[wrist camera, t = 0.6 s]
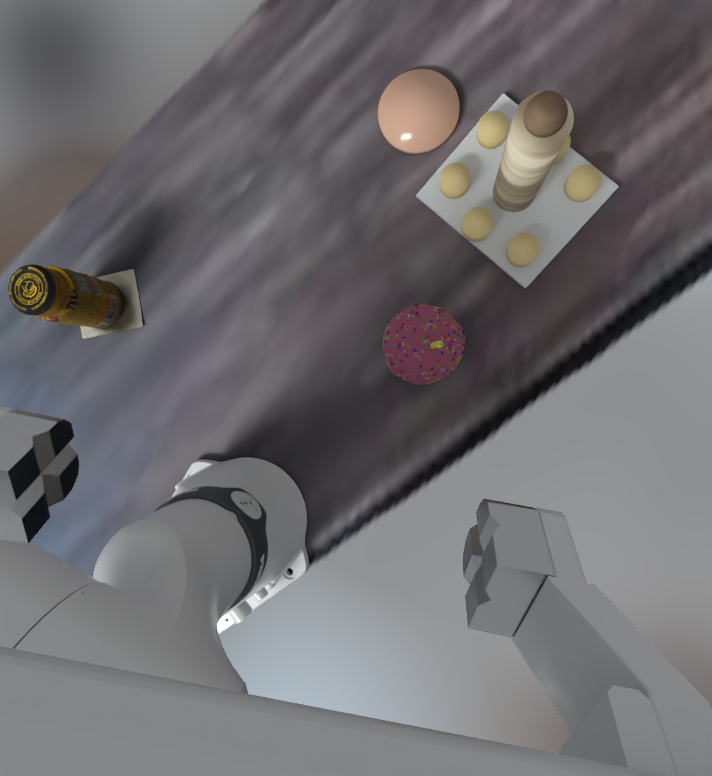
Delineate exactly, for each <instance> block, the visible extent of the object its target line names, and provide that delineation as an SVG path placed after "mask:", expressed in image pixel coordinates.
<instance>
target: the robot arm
mask: <svg viewBox="0 0 712 776" xmlns="http://www.w3.org/2000/svg"><path fill="white" fill-rule="evenodd" d="M73 438H74V433H73V429H72V424H71V423H70V422H68V421H66V420H65V419H60V418H55V417H51V416H46V415H41V414H37V413H32V412H27V411H22V410H18V409H10V408H6V407H1V406H0V776H712V710H711V708H710V705H709V703H708V701H707V700H706V699H705V698H704V697H703V696H702V695H701V694H700V693H699V692H698V691H697V690H696V689H695V688H694V687H693V686H692V685H691V684H690V683H689V682H688V681H687V680H686V679H685V678H684V677H683V675H681V673H680V672H679V671H678V670H677V669H676V668H675V667H673V665H672V664H671V663H670V662H669V661H668V660H667V659H666V658H665V657H664V656H663V655H662V654H661V653H660V652H659V651H658V650H657V649H656V648H655V647H654V646H653V645H652V644H651V643H650V642H649V640H648V639H647V638H645V636H644V635H643V634H642V633H641V632H640V631H639V630H638V629H637V628H636V627H635V626H634V625H633V624H632V623H631V622H630V621H629V620H628V619H627V618H626V617H625V616H624V615H623V614H622V613H621V612H620V611H619V610H618V609H617V608H616V607H615V605H613V604H612V602H611V601H610V600H609V599H607V597H605V595H604V594H603V593H602V592H601V591H600V590H599V589H598V588H597V587H596V586H595V585H592V584H588V583H586V580H585V577H584V574H583V571H582V567H581V564H580V561H579V559H578V555H577V552H576V549H575V546H574V542H573V539H572V536H571V533H570V530H569V527H568V524H567V520H566V518H565V516H564V515H563V514H562V512H557V511H551V510H545V509H539V508H532V507H526V506H521V505H515V504H510V503H504V502H499V501H493V500H488V499H483V501H482V502H481V503H480V505H479V508H478V510H477V512H476V514H477V523H478V524H477V525H475V526H474V527H472V528H470V530H469V533H468V536H467V539H466V543H465V548H464V554H463V573H464V577H465V578H466V580H467V581H468V582H469V584H470V586H469V589H468V591H467V594H466V596H465V599H466V610H467V622H468V628H471V629H475V630H480V631H484V632H489V633H493V634H498V635H503V636H507V637H512V638H513V642H514V643H515V645H516V646H517V648H518V649H519V651H520V653H521V654H522V656H523V658H524V659H525V661H526V662H527V664H528V666H529V667H530V669H531V670H532V672H533V674H534V675H535V677H536V678H537V680H538V682H539V683H540V685H541V686H542V688H543V690H544V691H545V693H546V694H547V696H548V698H549V699H550V701H551V702H552V704H553V706H554V707H555V709H556V710H557V712H558V714H559V715H560V717H561V718H562V720H563V722H564V723H565V725H566V726H567V728H568V730H569V731H570V733H571V734H572V735H571V737H570V738H569V739H568V740H567V742H566V743H565V744H564V745H563V746H562V748H561V749H560V750H559V751H558V753H557V754H556V753H551V752H546V751H541V750H535V749H530V748H525V747H520V746H514V745H509V744H504V743H499V742H494V741H489V740H483V739H478V738H473V737H468V736H463V735H458V734H452V733H446V732H442V731H436V730H432V729H426V728H421V727H416V726H411V725H406V724H400V723H395V722H390V721H385V720H380V719H374V718H369V717H364V716H358V715H353V714H349V713H343V712H337V711H333V710H328V709H322V708H317V707H312V706H307V705H302V704H297V703H291V702H286V701H281V700H275V699H271V698H266V697H260V696H255V695H250V694H248V691H247V687H246V684H245V682H244V681H243V680H242V678H241V677H240V676H239V674H238V673H237V671H236V670H235V668H234V667H233V666H232V664H231V662H230V660H229V659H228V657H227V655H226V653H225V651H224V648H223V647H222V644H221V641H220V638H219V633H221V632H223V631H224V630H226V629H227V628H228V627H230V626H231V625H233V624H234V623H236V624H238V623H240V622H241V621H242V620H244V619H245V618H246V617H247V616H248V615H249V614H250V613H251V612H252V610H254V609H255V608H257V607H258V606H259V605H261V604H262V603H264V602H265V601H267V600H268V599H269V598H271V597H272V596H274V595H275V594H277V593H278V592H279V591H281V590H282V589H284V588H285V587H286V586H288V585H289V584H291V583H292V582H294V581H295V580H296V579H298V578H299V577H301V576H302V575H303V574H304V573H305V572H306V571H307V570H308V568H309V559H308V554H307V550H306V547H305V535H306V528H307V512H306V507H305V503H304V499H303V497H302V494H301V492H300V490H299V488H298V487H297V485H296V484H295V482H294V481H293V480H292V479H291V477H290V476H289V475H288V474H287V473H286V472H284V471H283V470H282V469H281V468H279V467H278V466H276V465H274V464H272V463H270V462H268V461H265V460H262V459H258V458H250V457H243V458H236V459H232V460H228V461H223V462H218V461H213V460H206V459H200V460H197V461H195V462H194V463H192V465H191V466H190V468H189V469H188V471H187V473H186V475H185V477H184V478H183V480H182V481H181V482H179V483H178V484H177V485H176V486H175V488H176V491H175V492H174V494H173V496H172V498H170V499H169V500H167V501H166V502H165V503H164V504H162V505H161V506H160V507H159V508H157V509H156V510H155V511H154V512H153V513H151V514H149V515H147V516H145V517H143V518H141V519H139V520H137V521H135V522H132V523H130V524H128V525H127V526H125V527H124V528H122V529H121V530H119V531H118V532H117V533H116V534H115V535H114V536H113V537H112V538H111V539H110V541H109V542H108V543H107V545H106V546H105V547H104V549H103V550H102V552H101V554H100V556H99V558H98V560H97V563H96V566H95V569H94V573H93V577H91V576H89V575H87V574H86V573H84V572H82V571H81V570H79V569H77V568H76V567H74V566H72V565H70V564H69V563H67V562H65V561H64V560H62V559H60V558H58V557H57V556H55V555H53V554H52V553H50V552H48V551H46V550H45V549H43V548H41V547H40V546H38V545H36V544H35V543H33V542H31V540H32V539H33V538H34V536H35V535H36V534H37V533H38V532H39V530H40V529H41V528H42V527H43V525H44V524H45V523H46V522H47V520H48V519H49V518H50V510H49V507H50V506H52V505H55V504H57V503H59V502H61V501H63V500H64V499H65V498H66V497H67V495H68V494H69V493H70V491H71V490H72V489H73V486H74V484H75V481H76V479H77V477H78V471H79V459H78V454H77V453H76V452H75V451H74V449H73V448H72V447H71V446H70V445H69V444H68V443H69V442H70V441H71V440H72V439H73ZM288 568H291V569H292V570H293V573H290V572H289V571H288Z"/></svg>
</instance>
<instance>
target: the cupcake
mask: <svg viewBox="0 0 712 776" xmlns="http://www.w3.org/2000/svg"><path fill="white" fill-rule="evenodd" d="M464 345H465V335H464V331H463V329H462V327H461V325H460V324H459V323H457V322H456V321H455V320H454V318H453V317H452V316H451V315H450V314H448V313H447V312H446V311H445V310H443V309H442V308H439V307H436V306H431V305H428V304H415V305H414V306H411V307H408V308H406V309H404V310H402V311H401V312H399V313H398V314H397V315H396V316H395V317H394V318H393V319H392V320H391V321H390V322H389V324H388V325H387V327H386V329H385V332H384V335H383V350H384V354H385V359H386V362H387V365H388V367H389V369H390V370H391V371H392V372H393V373H394V374H395V375H396V376H398V377H400V378H402V379H403V380H406V381H408V382H411V383H413V384H416V385H424V384H429V383H433V382H436V381H440V380H442V379H444V378H445V377H447V376H448V375H449V374H451V373H452V372H453V371H454V370H455V369H456V367H457V366H458V364H459V362H460V360H461V358H462V355H463V353H464Z"/></svg>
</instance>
